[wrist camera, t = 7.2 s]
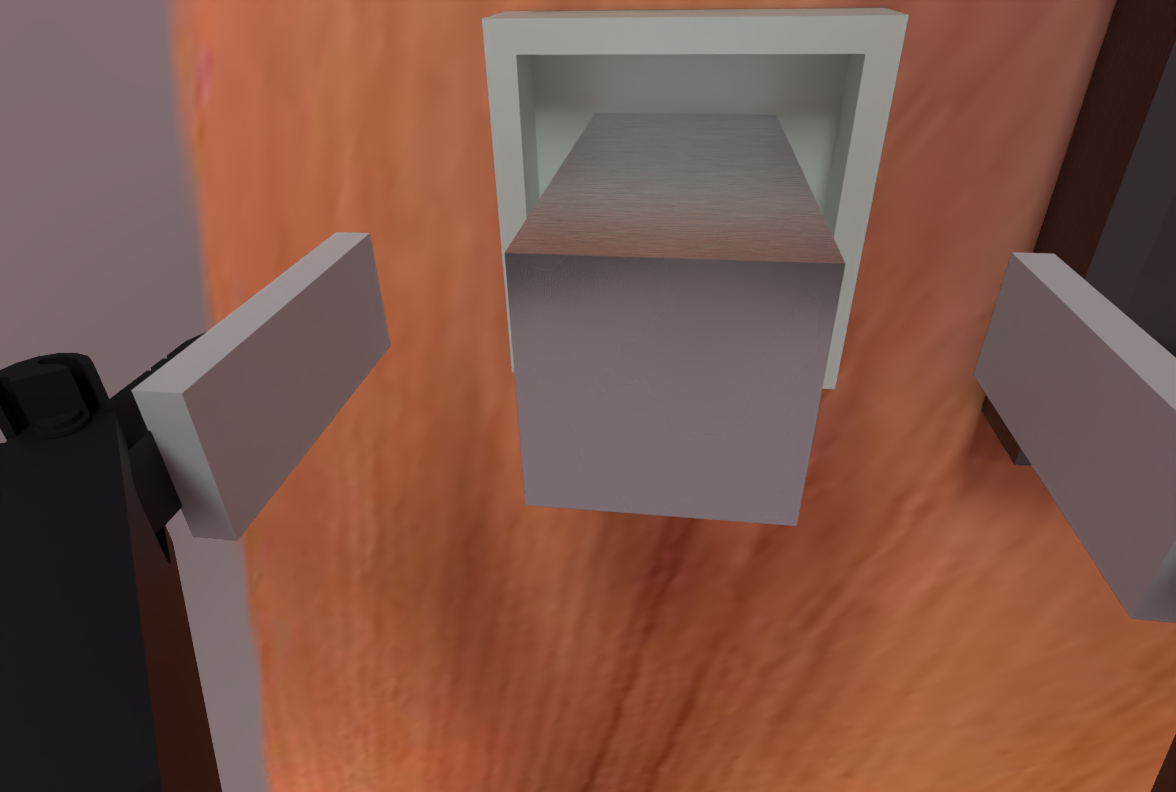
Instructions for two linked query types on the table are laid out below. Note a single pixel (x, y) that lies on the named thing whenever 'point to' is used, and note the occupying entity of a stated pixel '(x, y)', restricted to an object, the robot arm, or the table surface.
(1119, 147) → the dark rectangular frame
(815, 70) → the tray
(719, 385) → the grey rectangular block
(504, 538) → the table surface
